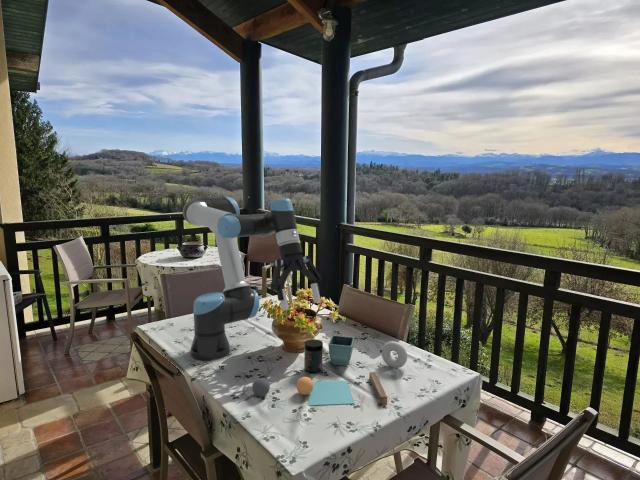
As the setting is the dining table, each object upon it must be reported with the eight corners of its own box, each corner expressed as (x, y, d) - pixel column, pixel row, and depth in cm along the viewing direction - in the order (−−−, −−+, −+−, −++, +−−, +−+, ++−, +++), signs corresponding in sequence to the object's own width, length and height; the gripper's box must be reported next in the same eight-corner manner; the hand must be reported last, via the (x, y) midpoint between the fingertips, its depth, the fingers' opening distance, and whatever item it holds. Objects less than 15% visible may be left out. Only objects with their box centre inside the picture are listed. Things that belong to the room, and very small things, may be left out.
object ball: (296, 398, 123) (296, 382, 122) (296, 389, 128) (296, 373, 128) (314, 398, 124) (314, 381, 123) (312, 389, 129) (312, 373, 128)
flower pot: (351, 369, 143) (351, 346, 142) (327, 367, 145) (328, 344, 143) (354, 359, 151) (354, 337, 150) (331, 356, 153) (332, 335, 152)
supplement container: (318, 376, 138) (318, 348, 136) (301, 372, 140) (301, 344, 139) (325, 368, 144) (325, 341, 142) (308, 364, 146) (308, 338, 145)
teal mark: (309, 405, 119) (309, 405, 119) (306, 382, 133) (306, 382, 133) (354, 403, 120) (354, 403, 120) (347, 381, 134) (347, 380, 134)
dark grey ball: (251, 400, 122) (251, 384, 121) (253, 391, 127) (252, 375, 126) (269, 399, 122) (269, 383, 121) (270, 390, 128) (270, 374, 127)
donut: (408, 369, 144) (409, 343, 142) (404, 372, 141) (405, 346, 139) (383, 362, 149) (384, 337, 148) (379, 365, 146) (380, 340, 145)
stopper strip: (380, 404, 120) (380, 396, 120) (369, 378, 136) (369, 372, 136) (387, 404, 120) (387, 396, 120) (374, 378, 136) (375, 371, 136)
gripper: (263, 244, 121) (277, 312, 118) (323, 238, 137) (336, 298, 134) (251, 249, 126) (264, 314, 124) (310, 243, 143) (322, 300, 140)
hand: (302, 306), depth 129 cm, fingers open, 13 cm apart
